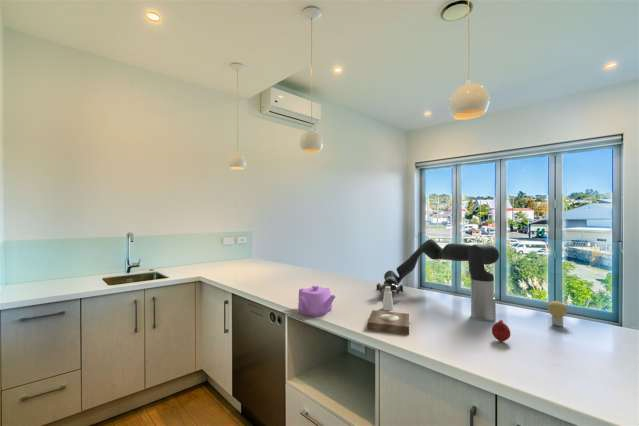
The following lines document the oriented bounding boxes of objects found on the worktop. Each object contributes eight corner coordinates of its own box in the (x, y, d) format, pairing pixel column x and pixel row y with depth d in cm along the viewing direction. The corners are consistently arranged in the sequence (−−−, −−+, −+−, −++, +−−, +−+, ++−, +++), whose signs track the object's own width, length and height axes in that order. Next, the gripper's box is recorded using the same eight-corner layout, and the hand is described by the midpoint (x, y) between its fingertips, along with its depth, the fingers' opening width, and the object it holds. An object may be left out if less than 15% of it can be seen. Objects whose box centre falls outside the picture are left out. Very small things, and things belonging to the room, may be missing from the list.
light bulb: (548, 321, 125) (548, 298, 125) (568, 325, 120) (567, 301, 121) (546, 325, 121) (546, 301, 121) (566, 329, 116) (566, 304, 116)
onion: (510, 346, 100) (510, 323, 100) (491, 343, 103) (491, 320, 103) (510, 340, 105) (509, 319, 105) (491, 337, 108) (491, 316, 108)
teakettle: (328, 305, 148) (328, 281, 148) (336, 316, 131) (336, 289, 132) (296, 307, 145) (296, 282, 145) (299, 318, 128) (299, 291, 129)
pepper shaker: (381, 307, 145) (381, 285, 145) (392, 307, 145) (392, 285, 145) (383, 310, 140) (383, 287, 140) (394, 310, 139) (394, 288, 140)
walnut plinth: (409, 320, 126) (408, 313, 126) (409, 334, 111) (409, 326, 111) (372, 316, 131) (372, 309, 131) (367, 329, 115) (367, 321, 115)
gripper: (403, 291, 166) (402, 298, 150) (378, 289, 170) (375, 296, 154) (403, 278, 166) (402, 284, 150) (378, 277, 170) (375, 282, 155)
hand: (389, 290), depth 152 cm, fingers open, 8 cm apart
